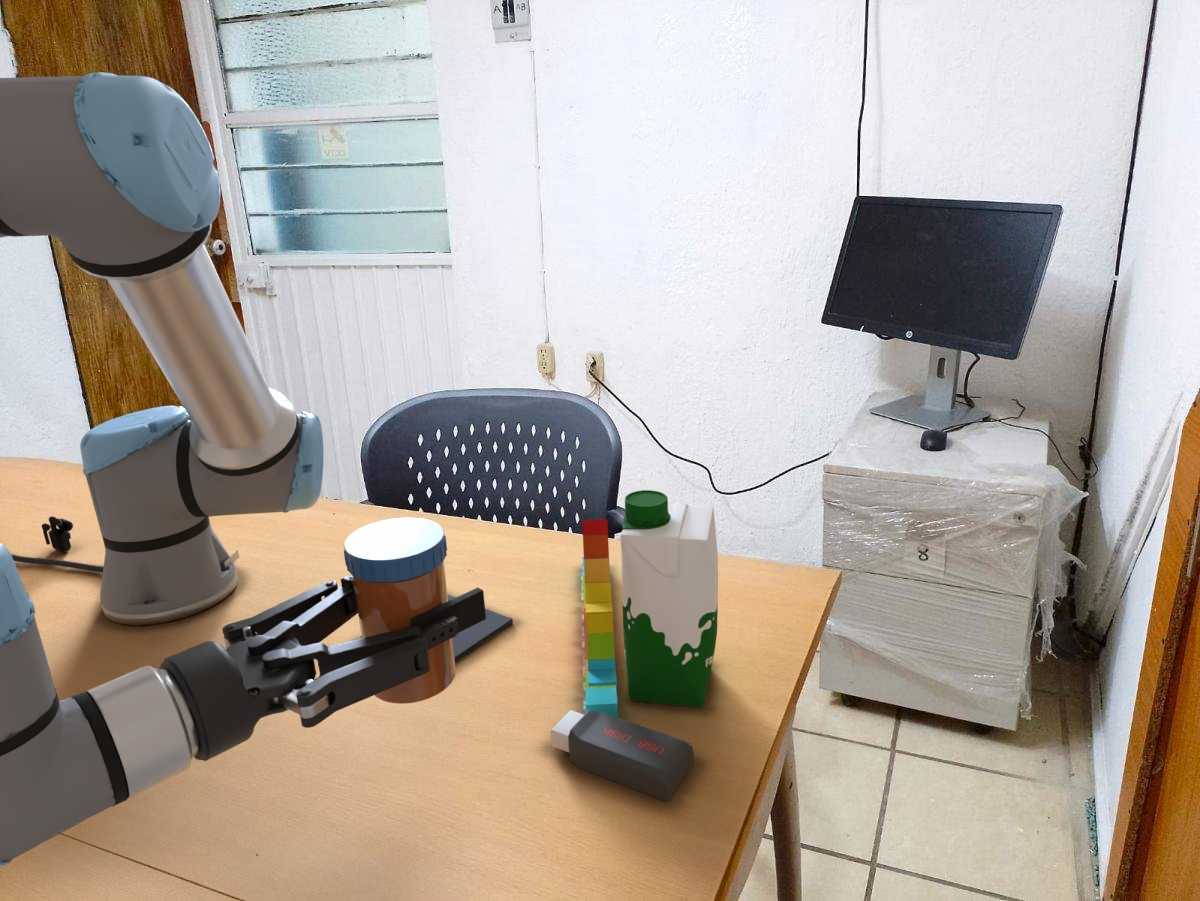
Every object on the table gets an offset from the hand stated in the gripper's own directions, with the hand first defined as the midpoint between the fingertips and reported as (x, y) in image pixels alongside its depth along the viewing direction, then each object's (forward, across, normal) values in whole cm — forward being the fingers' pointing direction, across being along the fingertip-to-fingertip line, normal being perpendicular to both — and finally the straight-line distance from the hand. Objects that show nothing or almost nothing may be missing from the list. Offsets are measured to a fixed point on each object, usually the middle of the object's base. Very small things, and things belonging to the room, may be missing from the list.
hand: (453, 587), depth 71 cm
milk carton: (+18, +9, -16) cm, 26 cm away
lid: (-5, 0, +6) cm, 8 cm away
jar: (-5, 0, -6) cm, 8 cm away
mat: (+8, -17, -16) cm, 25 cm away
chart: (+20, -3, -16) cm, 26 cm away
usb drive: (+7, +12, -16) cm, 21 cm away
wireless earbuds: (-15, -76, -16) cm, 79 cm away
